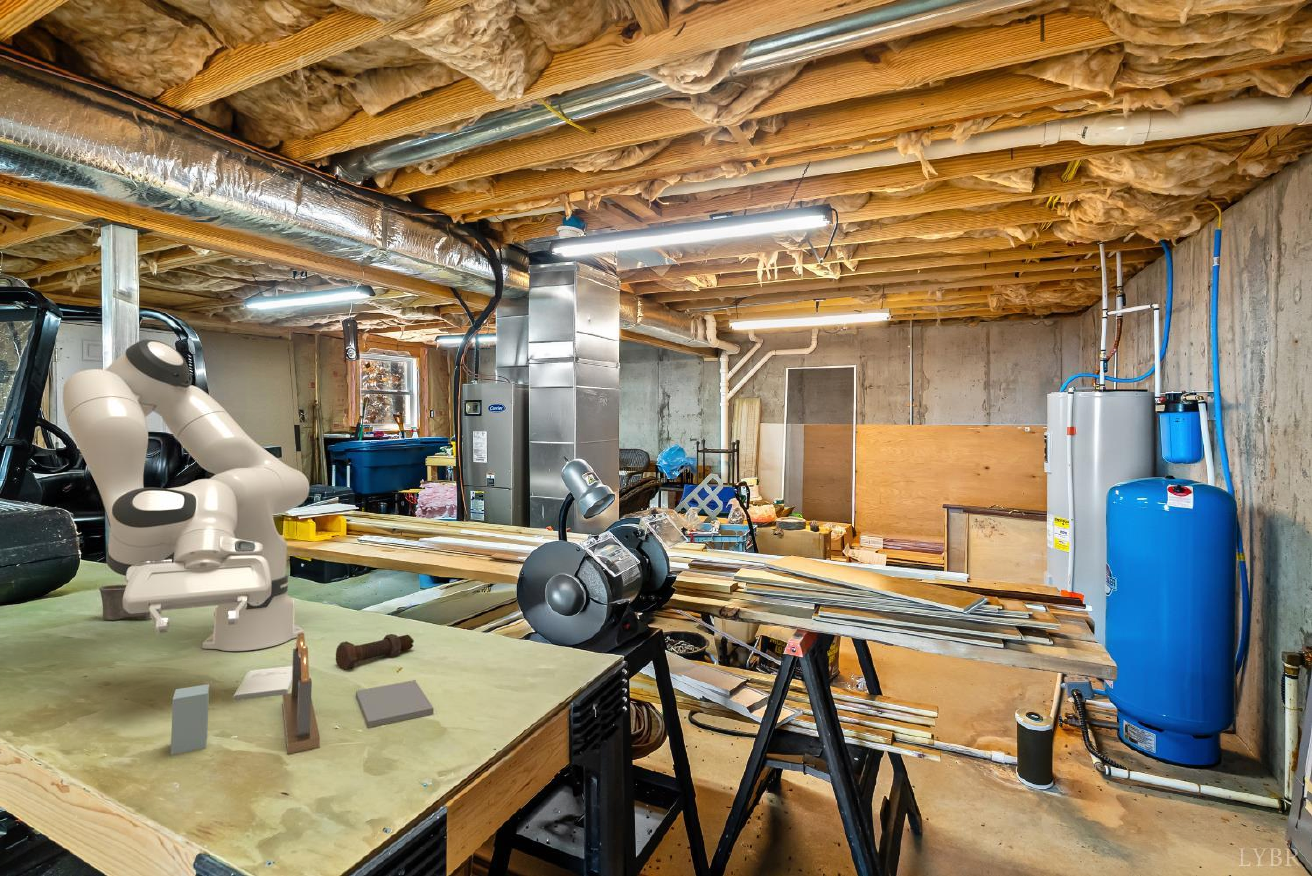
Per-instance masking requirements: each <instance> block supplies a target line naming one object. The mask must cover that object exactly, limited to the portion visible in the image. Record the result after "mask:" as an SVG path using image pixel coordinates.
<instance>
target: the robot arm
mask: <svg viewBox="0 0 1312 876" xmlns="http://www.w3.org/2000/svg"><path fill="white" fill-rule="evenodd" d="M192 383H193V376H192V374H191V372H190V369H189V365H188V364H187V362H186V359H185V358H184V356H183V355H182V354H181V353H180V352H179V351H178V350H177V349H175V348H174V347H172V346H171V345H169V344H167V343H164V342H162V341H160V340H155V339H146V338H144V339H141V340H139V341H137V342H135V343H134V344H132V345H130V346H129V347H128V348H126V350H125V352H123V354H121V355H120V356H119V357H117V358H116V359H115V360H114V361H113V362H112V363H110V365H109V366H108V367H106V369H101V368H91V369H84V370H81V371H78V372H76V373H74V374H72V375H70V377H68V379H66V380H65V382H64V384H63V388H62V390H63V391H62V403H63V404H62V405H63V410H64V416H65V419H66V422H67V426H68V428H69V430H70V433H71V434H72V437H73V439H74V441H75V444H76V446H77V447H78V449H79V452H80V453H81V455H82V458H83V459H84V461H85V463H86V466H87V468H88V470H89V473H90V475H91V476H92V478H93V480H94V482H95V484H96V486H97V491H98V493H99V496H100V498H101V499H100V500H101V502H102V505H103V508H104V511H105V512H104V513H105V516H106V518H107V522H108V525H109V528H110V529H109V540H108V541H109V542H108V547H107V551H106V556H105V560H106V565H107V566H108V568H109V569H111V571H113V572H114V573H116V574H118V575H120V576H124V578H125V579H124V581H125V582H126V584H125V585H126V588H125V591H124V595H123V607H124V609H125V610H126V611H127V612H128V613H130V614H134V613H144V612H150V617H149V618H151V620H152V621H153V622H154V624H155V634H162V633H168V632H169V623H170V621H169V617H162V612H163V611H174V610H184V609H194V608H195V609H196V608H202V607H203V608H205V607H215V606H217V607H215V609H214V612H213V619H214V620H213V626H212V630H213V632H212V633H211V634H210V635H209V636H208V637H207V638H206V639H205V640H204V641H203V642H202V645H201V648H202V649H205V650H206V649H207V650H208V649H209V650H211V649H212V650H213V649H214V650H221V651H227V652H244V651H252V650H259V649H260V650H261V649H266V648H270V647H274V646H278V645H281V644H283V643H286V642H288V641H290V640H293V639H297V635H298V633H300V632H303V633H304V629H302V628H301V627H300V626H299V625H297V624H295V623H296V621H295V620H296V618H295V617H296V616H295V615H296V614H295V613H296V612H295V611H296V610H295V609H296V607H295V606H296V605H295V603H296V602H295V599H293V598H292V597H291V596H289V594H288V593H287V592H288V590H289V576H288V575H287V556H288V555H287V554H288V553H287V552H288V550H287V548H288V544H287V541H286V539H285V538H284V537H283V536H282V535H281V534H280V533H279V531H278V530H277V527H276V524H275V521H274V515H275V514H281V513H282V514H283V513H286V512H288V511H291V510H292V509H295V508H297V507H298V506H300V505H302V504H303V503H305V501H306V500H307V499H308V497H309V494H310V483H309V480H308V478H307V477H306V475H305V474H304V473H303V472H302V471H300V470H298V469H296V468H293V467H291V466H289V465H288V464H285V463H284V462H283V461H281V460H280V459H278V458H277V457H276V456H274V455H273V454H272V453H270V452H268V451H267V449H265V448H263V446H261V445H259V443H257V442H256V441H254V440H253V438H251V437H250V436H249V435H248V434H247V432H246V431H244V429H243V428H241V426H240V425H239V424H238V423H237V421H235V419H233V417H232V416H231V415H230V413H228V411H227V410H226V409H225V408H224V407H223V406H222V405H221V404H220V403H218V402H217V400H215V398H213V397H212V396H210V395H209V394H208V393H207V392H206V391H204V390H203V389H201V388H200V387H198V386H195V385H192ZM153 412H154V413H156V414H157V415H158V416H160V417H161V419H162V420H163V422H164V423H165V425H166V426H167V428H168V430H169V431H170V433H171V434H172V435H173V436H174V438H175V440H177V442H178V443H180V445H181V446H182V447H183V448H184V450H186V452H187V453H188V454H189V455H190V456H191V458H192V459H194V461H195V462H196V463H197V464H198V465H199V467H201V468H202V469H204V470H205V471H207V472H208V473H212V474H214V475H213V476H210V478H201V479H197V480H194V481H191V482H190V483H187V484H185V485H182V486H177V487H171V488H170V487H169V488H163V487H144V471H145V464H146V458H147V452H148V445H149V428H148V421H147V419H146V418H147V417H148V416H149V415H151V413H153Z"/></svg>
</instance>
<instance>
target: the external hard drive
mask: <svg viewBox="0 0 1312 876" xmlns="http://www.w3.org/2000/svg"><path fill="white" fill-rule="evenodd" d="M291 688H292V665H289V666H288V665H287V666H280V667H270V668H262V669H261V668H260V669H251V670H249V671H248V672H247V673H246V674H245V676H244V678H243V680H242V681H241V682H240V684H239V686H238V687H237V689H236V691H235V693H234V694H233V696H232V701H233V702H234V700H236V701H241V699H244V700H249V699H251V700H252V699H257V698H259V699H260V698H269V697H276V696H283V695H284V694H289V693H290V689H291Z"/></svg>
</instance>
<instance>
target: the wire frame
mask: <svg viewBox="0 0 1312 876" xmlns="http://www.w3.org/2000/svg"><path fill="white" fill-rule="evenodd" d="M291 666H292V684H291V692H288V694H284V695H282V710H283V719H284V720H283V721H284V730H285V739H286V741H285V742H286V749H287V755H290V754H295V753H300V752H304V751H308V750H309V751H310V750H313V749H317V748H320V743H321V740H320V739H321V737H320V732H319V727H318V722H317V717H316V714H315V713H316V712H315V708H314V704H313V700H312V684H313V683H312V682H313V680H312V678H311V677H310V669H309V667H310V664H309V648H308V645H307V646H306V638H305V632H304V631H303V632H300V633H298V635H297V637H296V643H295V648H292V665H291Z"/></svg>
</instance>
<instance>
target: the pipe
mask: <svg viewBox="0 0 1312 876" xmlns="http://www.w3.org/2000/svg"><path fill="white" fill-rule="evenodd" d="M126 585H127V584H112V585H111V584H110V585H105V586H104V585H103V586H100V587H98V590H99V592H100V597H101V603H102V619H104V620H106V621H115V620H126V619H127V620H132V619H134V620H135V619H147V618H151V617H150V612H144V613H134V614H130V613H128V612H127V611H126V610H125V609H124V607H123V595H124V591H125V588H126Z"/></svg>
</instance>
